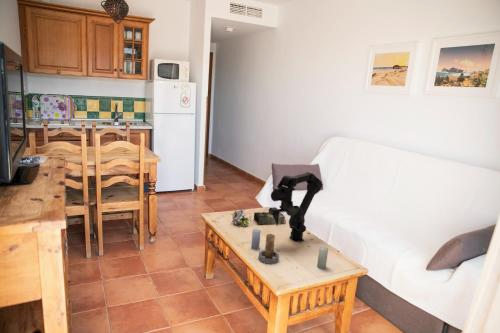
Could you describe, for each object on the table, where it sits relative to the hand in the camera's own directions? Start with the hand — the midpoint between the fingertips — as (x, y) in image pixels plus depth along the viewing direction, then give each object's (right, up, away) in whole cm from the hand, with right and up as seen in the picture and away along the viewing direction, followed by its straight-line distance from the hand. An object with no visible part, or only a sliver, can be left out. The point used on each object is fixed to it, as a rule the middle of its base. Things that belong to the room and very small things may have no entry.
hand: (284, 224), depth 197 cm
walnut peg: (-10, -15, -16) cm, 24 cm away
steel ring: (-10, -15, -16) cm, 24 cm away
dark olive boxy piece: (-6, -5, +36) cm, 36 cm away
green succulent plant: (-25, -5, +29) cm, 39 cm away
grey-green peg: (+17, -18, -20) cm, 32 cm away
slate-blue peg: (-16, -12, -4) cm, 21 cm away
